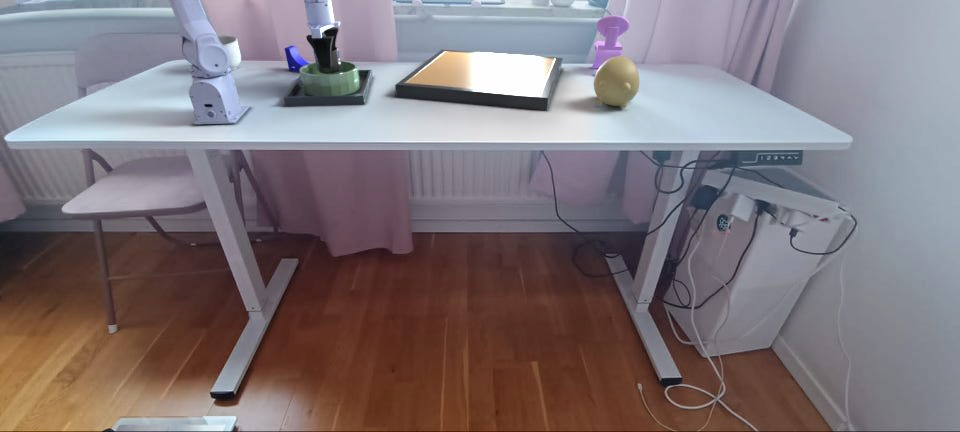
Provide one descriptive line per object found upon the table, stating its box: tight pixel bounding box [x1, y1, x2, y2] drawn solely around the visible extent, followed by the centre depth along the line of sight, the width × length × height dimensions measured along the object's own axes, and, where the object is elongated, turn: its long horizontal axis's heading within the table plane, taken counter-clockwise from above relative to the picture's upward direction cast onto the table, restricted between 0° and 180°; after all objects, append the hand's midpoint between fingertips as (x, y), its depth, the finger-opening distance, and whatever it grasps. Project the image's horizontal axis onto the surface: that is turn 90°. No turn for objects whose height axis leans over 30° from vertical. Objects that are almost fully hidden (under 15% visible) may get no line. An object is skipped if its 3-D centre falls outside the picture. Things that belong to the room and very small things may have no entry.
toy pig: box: [593, 55, 641, 109], centre depth 103 cm, size 10×12×11 cm
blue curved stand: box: [284, 45, 311, 73], centre depth 124 cm, size 12×4×6 cm, turn 73°
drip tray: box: [283, 69, 373, 107], centre depth 111 cm, size 21×17×2 cm
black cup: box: [313, 46, 341, 74], centre depth 107 cm, size 6×6×5 cm
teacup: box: [217, 34, 242, 72], centre depth 123 cm, size 14×11×8 cm
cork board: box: [394, 49, 563, 112], centre depth 118 cm, size 36×3×35 cm
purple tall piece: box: [591, 14, 630, 76], centre depth 123 cm, size 8×9×15 cm
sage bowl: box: [299, 60, 360, 96], centre depth 110 cm, size 13×13×6 cm
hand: (328, 64), depth 108 cm, fingers closed on black cup, 5 cm apart
